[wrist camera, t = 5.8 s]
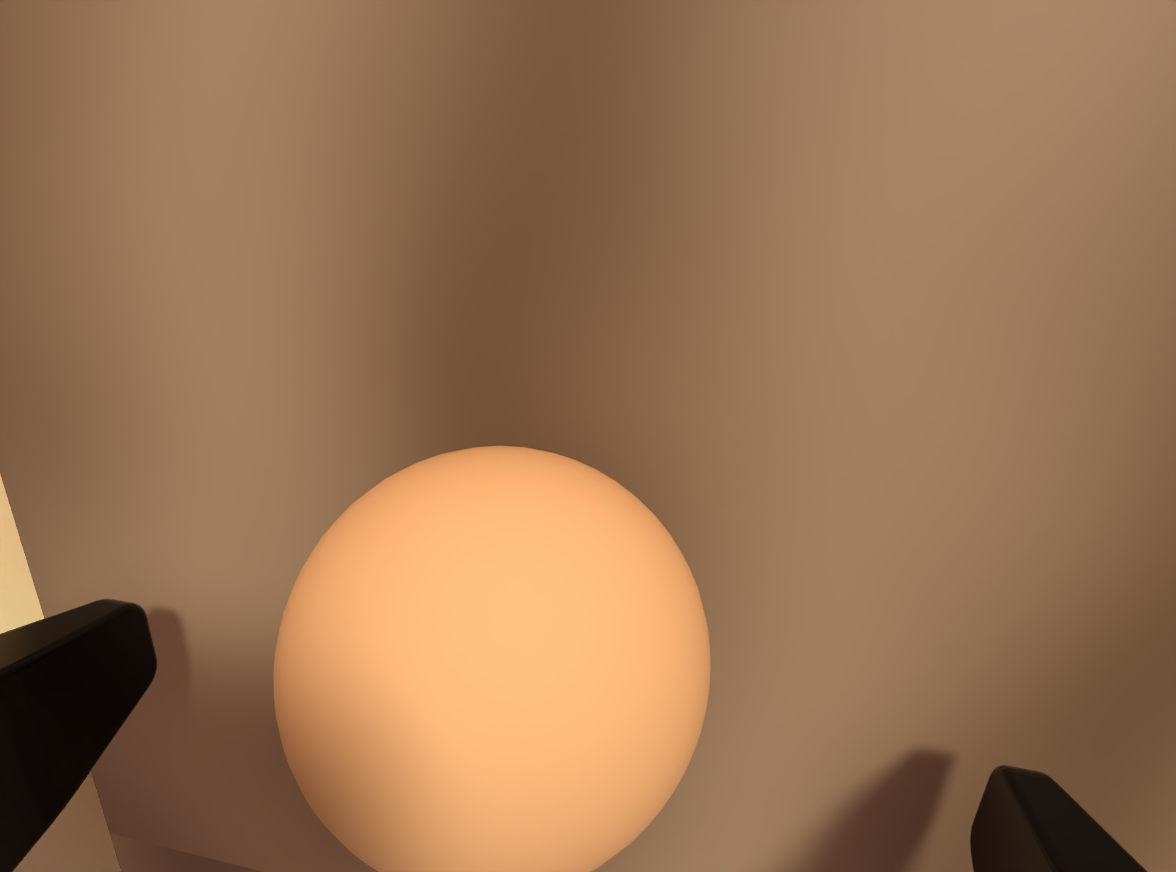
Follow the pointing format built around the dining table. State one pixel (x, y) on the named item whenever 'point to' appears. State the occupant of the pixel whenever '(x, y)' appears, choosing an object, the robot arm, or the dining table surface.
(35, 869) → the dining table surface
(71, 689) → the robot arm
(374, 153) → the board
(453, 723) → the ball
